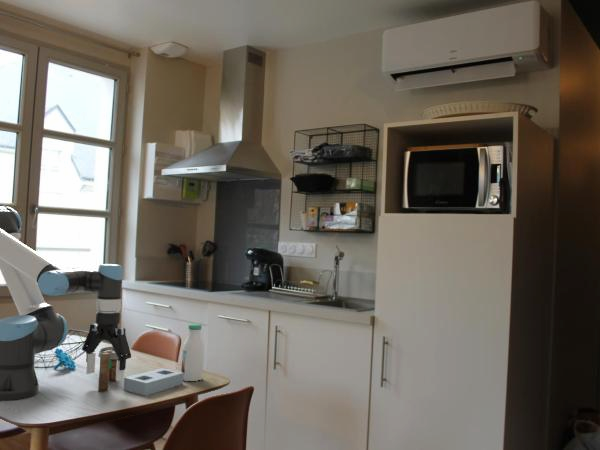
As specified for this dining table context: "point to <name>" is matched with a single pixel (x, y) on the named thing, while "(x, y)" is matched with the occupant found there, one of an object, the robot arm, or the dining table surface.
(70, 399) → the dining table surface
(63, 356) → the gear
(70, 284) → the robot arm
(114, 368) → the food container
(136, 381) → the hole block
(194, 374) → the milk bottle
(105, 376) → the peg
